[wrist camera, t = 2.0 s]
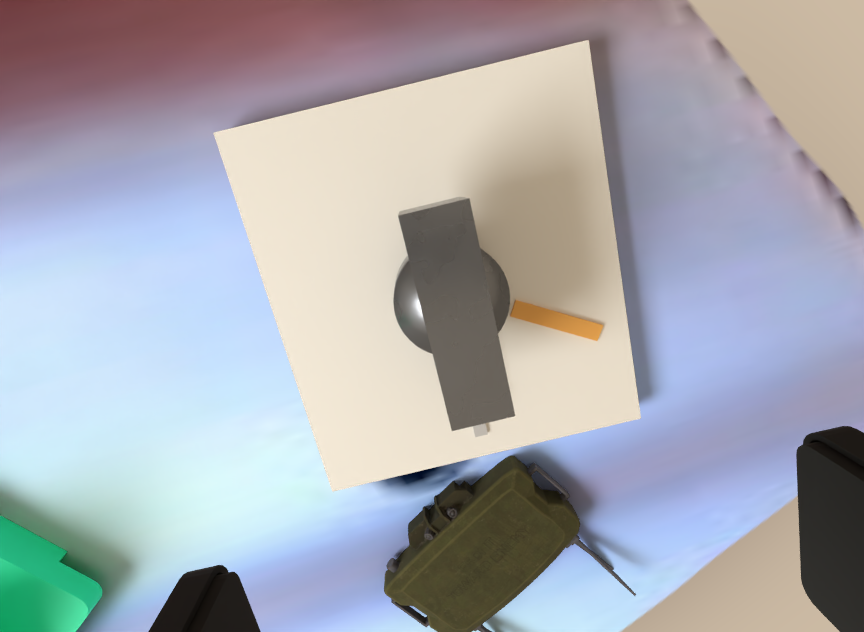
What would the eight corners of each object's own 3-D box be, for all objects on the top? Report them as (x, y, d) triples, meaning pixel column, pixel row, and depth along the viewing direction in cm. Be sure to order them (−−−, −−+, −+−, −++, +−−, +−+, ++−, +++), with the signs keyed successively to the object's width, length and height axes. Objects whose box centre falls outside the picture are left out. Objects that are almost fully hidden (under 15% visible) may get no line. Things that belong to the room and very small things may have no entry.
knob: (373, 215, 27) (362, 224, 20) (480, 189, 27) (505, 189, 20) (428, 425, 30) (434, 494, 23) (524, 402, 30) (558, 464, 23)
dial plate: (223, 135, 27) (212, 132, 26) (578, 47, 27) (590, 38, 25) (335, 478, 33) (331, 493, 31) (630, 408, 32) (642, 419, 31)
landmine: (508, 449, 30) (661, 581, 34) (500, 428, 33) (643, 553, 36) (357, 593, 33) (514, 705, 36) (360, 563, 35) (507, 670, 38)
